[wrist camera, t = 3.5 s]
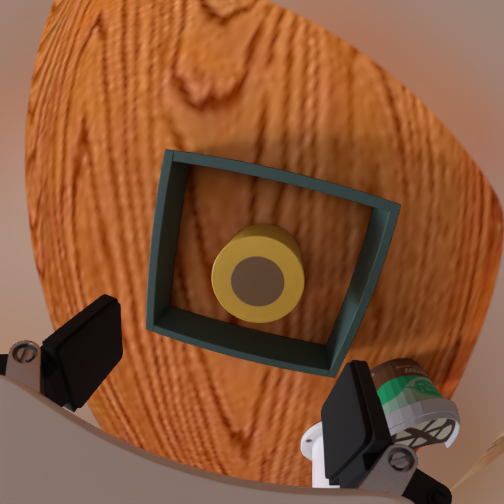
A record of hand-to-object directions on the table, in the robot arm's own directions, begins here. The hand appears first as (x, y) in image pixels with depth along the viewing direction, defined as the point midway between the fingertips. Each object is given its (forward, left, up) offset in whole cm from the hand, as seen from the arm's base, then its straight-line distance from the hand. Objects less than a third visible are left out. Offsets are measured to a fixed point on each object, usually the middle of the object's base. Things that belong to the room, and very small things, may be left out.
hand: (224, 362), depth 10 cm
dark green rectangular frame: (0, 0, -15) cm, 15 cm away
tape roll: (0, 0, -15) cm, 14 cm away
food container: (-18, +9, -15) cm, 25 cm away
